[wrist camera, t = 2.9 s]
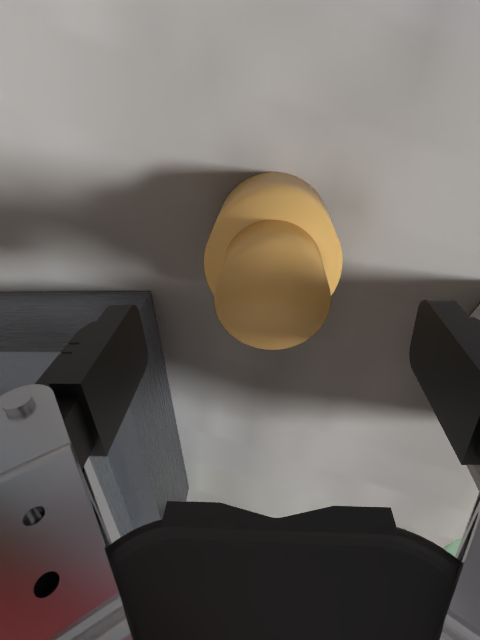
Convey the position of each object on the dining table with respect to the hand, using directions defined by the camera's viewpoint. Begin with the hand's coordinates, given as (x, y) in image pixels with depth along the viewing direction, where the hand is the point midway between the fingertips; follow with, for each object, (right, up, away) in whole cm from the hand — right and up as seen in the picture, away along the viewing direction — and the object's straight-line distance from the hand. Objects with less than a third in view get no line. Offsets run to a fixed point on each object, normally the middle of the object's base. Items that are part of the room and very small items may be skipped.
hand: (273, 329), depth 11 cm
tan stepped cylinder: (0, +4, +5) cm, 7 cm away
